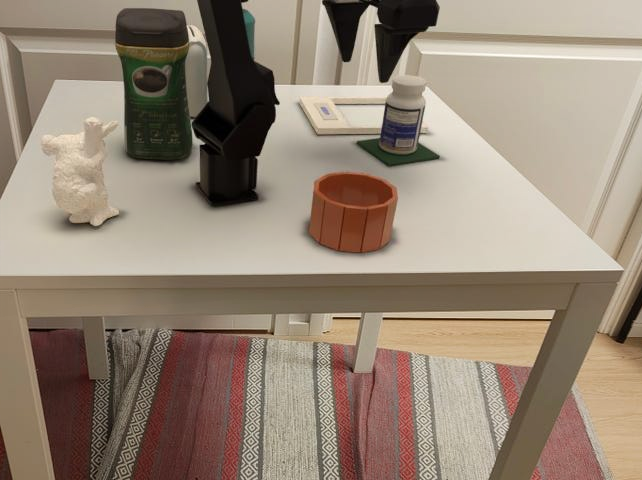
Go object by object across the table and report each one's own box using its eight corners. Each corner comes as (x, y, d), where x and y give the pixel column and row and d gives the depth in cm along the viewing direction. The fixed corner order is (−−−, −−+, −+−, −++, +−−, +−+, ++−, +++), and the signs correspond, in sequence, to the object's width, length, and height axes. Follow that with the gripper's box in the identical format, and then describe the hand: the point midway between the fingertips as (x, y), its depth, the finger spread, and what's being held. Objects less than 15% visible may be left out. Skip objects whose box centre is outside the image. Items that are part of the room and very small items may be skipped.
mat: (388, 166, 94) (389, 163, 94) (356, 143, 100) (356, 141, 100) (439, 158, 97) (440, 155, 97) (405, 136, 104) (405, 134, 103)
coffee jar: (194, 142, 98) (192, 4, 86) (189, 164, 92) (186, 18, 80) (130, 139, 98) (118, 0, 86) (120, 160, 92) (107, 14, 80)
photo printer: (175, 98, 113) (172, 19, 105) (200, 97, 114) (199, 19, 106) (183, 119, 105) (181, 35, 97) (210, 118, 106) (209, 35, 98)
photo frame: (299, 96, 113) (399, 95, 115) (299, 102, 113) (398, 102, 116) (318, 127, 102) (428, 125, 104) (317, 134, 102) (426, 132, 105)
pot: (334, 258, 74) (340, 214, 70) (295, 220, 80) (299, 178, 77) (404, 243, 77) (414, 200, 73) (362, 208, 84) (368, 167, 80)
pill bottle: (390, 138, 102) (402, 71, 95) (423, 148, 99) (437, 80, 93) (371, 148, 98) (382, 79, 92) (404, 159, 96) (418, 88, 89)
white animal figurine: (129, 206, 81) (120, 108, 74) (123, 233, 76) (113, 130, 68) (60, 205, 81) (44, 106, 73) (49, 231, 76) (30, 128, 68)
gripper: (493, -60, 71) (458, 88, 81) (397, -82, 84) (378, 48, 94) (408, -58, 68) (383, 96, 78) (322, -82, 81) (309, 54, 91)
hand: (364, 71), depth 85 cm, fingers open, 9 cm apart
